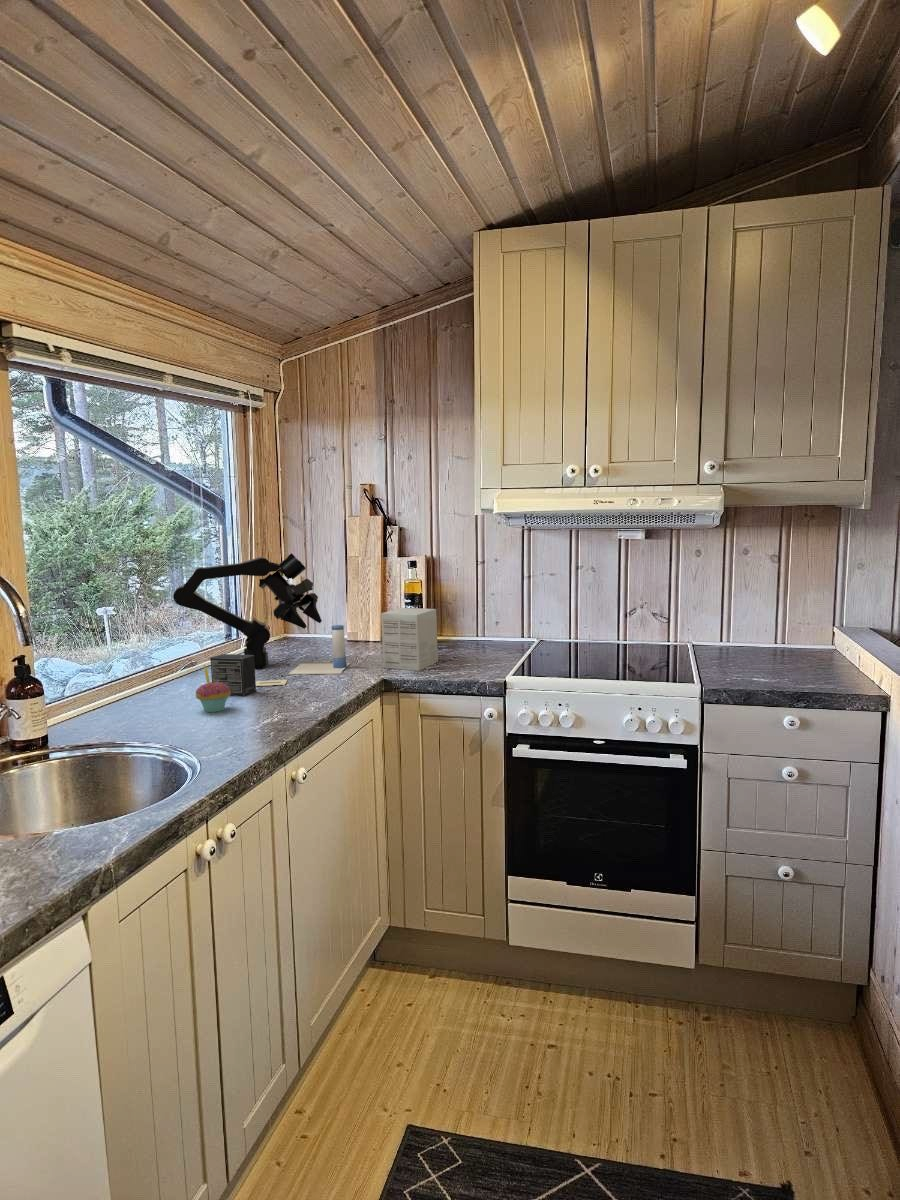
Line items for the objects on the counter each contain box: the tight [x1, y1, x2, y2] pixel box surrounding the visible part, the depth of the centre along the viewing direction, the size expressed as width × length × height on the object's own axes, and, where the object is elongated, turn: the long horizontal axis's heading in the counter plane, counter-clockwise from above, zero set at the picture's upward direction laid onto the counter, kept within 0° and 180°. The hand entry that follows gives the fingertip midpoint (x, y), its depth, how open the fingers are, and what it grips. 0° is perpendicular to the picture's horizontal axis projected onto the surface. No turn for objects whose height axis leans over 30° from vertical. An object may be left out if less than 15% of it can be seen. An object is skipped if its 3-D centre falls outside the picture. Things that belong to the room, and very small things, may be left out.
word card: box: [255, 679, 288, 687], centre depth 226 cm, size 9×6×1 cm, turn 96°
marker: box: [331, 624, 348, 668], centre depth 244 cm, size 4×4×13 cm
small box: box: [209, 653, 257, 697], centre depth 216 cm, size 11×6×10 cm, turn 71°
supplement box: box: [380, 607, 439, 672], centre depth 246 cm, size 13×13×18 cm
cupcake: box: [195, 664, 232, 713], centre depth 198 cm, size 9×8×12 cm
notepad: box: [288, 661, 352, 675], centre depth 245 cm, size 16×16×1 cm
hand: (313, 624), depth 247 cm, fingers open, 9 cm apart
